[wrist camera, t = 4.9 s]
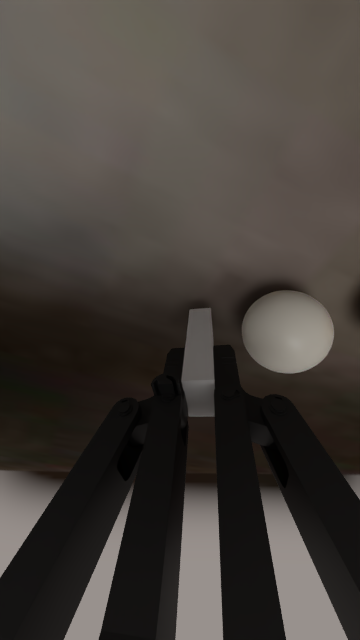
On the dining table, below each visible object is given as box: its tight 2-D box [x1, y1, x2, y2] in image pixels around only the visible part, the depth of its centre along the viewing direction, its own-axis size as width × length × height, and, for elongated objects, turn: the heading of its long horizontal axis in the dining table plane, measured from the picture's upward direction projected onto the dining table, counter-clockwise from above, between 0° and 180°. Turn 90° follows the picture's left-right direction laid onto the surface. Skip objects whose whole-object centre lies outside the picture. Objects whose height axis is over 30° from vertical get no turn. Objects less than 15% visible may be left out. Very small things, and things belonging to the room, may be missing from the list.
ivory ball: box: [242, 290, 334, 373], centre depth 15 cm, size 6×6×6 cm
